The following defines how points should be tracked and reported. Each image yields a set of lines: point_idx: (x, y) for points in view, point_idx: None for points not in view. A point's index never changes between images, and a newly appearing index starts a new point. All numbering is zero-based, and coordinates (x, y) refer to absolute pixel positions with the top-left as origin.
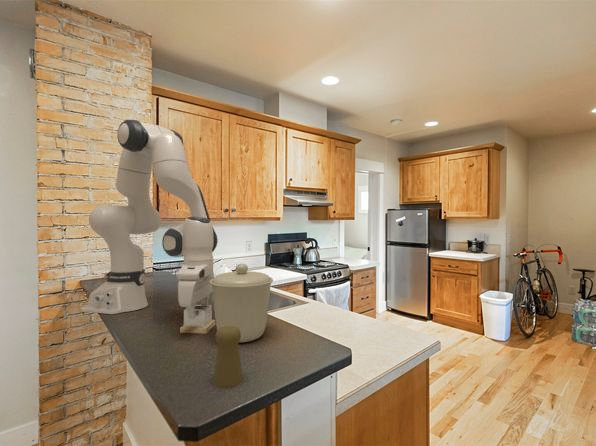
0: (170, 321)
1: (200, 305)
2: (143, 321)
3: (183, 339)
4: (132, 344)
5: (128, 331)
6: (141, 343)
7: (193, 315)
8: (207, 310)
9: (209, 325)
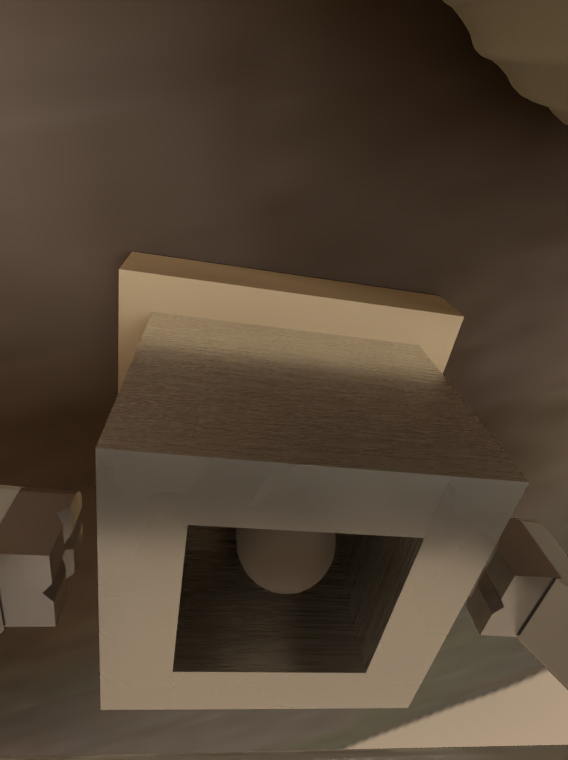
0: (70, 645)
1: (151, 612)
2: None
3: (529, 452)
4: (507, 666)
5: (285, 746)
6: (508, 640)
7: (559, 558)
8: (375, 444)
9: (358, 302)
